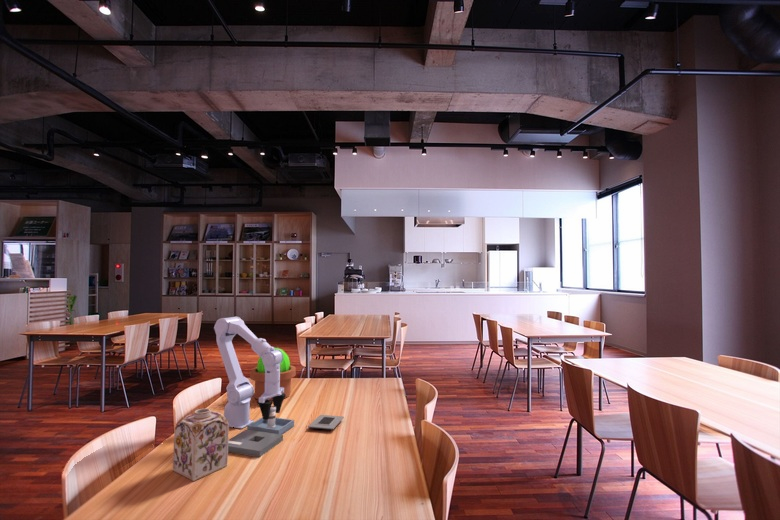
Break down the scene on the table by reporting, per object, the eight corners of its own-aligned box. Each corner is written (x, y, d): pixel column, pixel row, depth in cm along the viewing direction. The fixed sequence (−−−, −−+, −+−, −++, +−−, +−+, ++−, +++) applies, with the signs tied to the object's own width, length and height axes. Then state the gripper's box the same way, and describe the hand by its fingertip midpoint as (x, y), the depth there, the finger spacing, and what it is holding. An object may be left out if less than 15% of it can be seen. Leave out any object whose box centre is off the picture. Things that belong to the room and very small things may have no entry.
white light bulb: (265, 429, 149) (265, 408, 149) (270, 426, 152) (270, 405, 152) (272, 430, 148) (273, 409, 148) (277, 427, 151) (277, 406, 151)
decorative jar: (192, 482, 110) (195, 419, 111) (171, 471, 116) (173, 412, 117) (229, 465, 120) (231, 408, 121) (207, 456, 127) (209, 401, 127)
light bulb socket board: (219, 450, 131) (220, 444, 131) (246, 434, 144) (246, 428, 144) (259, 457, 126) (259, 450, 126) (282, 440, 140) (283, 434, 140)
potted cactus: (288, 403, 181) (289, 350, 182) (242, 402, 182) (244, 350, 183) (299, 389, 203) (300, 343, 204) (259, 389, 203) (260, 342, 205)
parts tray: (247, 432, 146) (247, 425, 146) (264, 422, 157) (264, 416, 157) (278, 437, 142) (278, 430, 143) (294, 426, 153) (294, 420, 153)
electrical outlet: (333, 434, 147) (333, 427, 147) (307, 431, 149) (307, 425, 149) (343, 421, 160) (343, 415, 160) (320, 419, 162) (320, 414, 162)
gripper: (270, 387, 143) (269, 423, 142) (290, 377, 156) (290, 410, 156) (254, 385, 145) (253, 421, 144) (276, 376, 158) (275, 409, 158)
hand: (271, 415), depth 150 cm, fingers open, 7 cm apart
